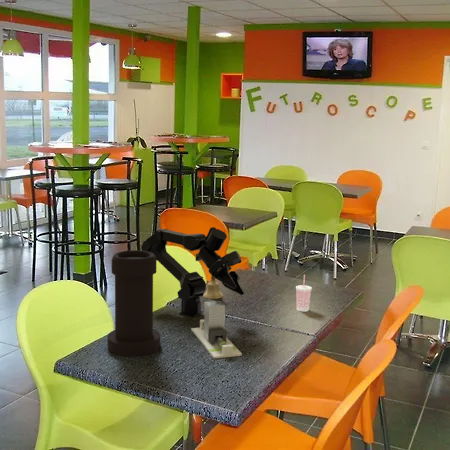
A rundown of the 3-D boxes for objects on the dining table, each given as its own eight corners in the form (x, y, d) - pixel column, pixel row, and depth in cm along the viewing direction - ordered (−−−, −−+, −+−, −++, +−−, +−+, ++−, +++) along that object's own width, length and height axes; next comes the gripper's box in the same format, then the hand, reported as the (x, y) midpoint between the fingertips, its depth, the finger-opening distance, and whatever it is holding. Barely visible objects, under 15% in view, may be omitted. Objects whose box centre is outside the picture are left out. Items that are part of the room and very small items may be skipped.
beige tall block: (203, 335, 202) (204, 302, 200) (219, 334, 204) (220, 300, 202) (208, 340, 198) (209, 306, 196) (224, 339, 199) (225, 305, 197)
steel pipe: (202, 327, 210) (202, 321, 210) (207, 326, 211) (208, 321, 210) (223, 351, 188) (223, 345, 188) (229, 351, 189) (229, 345, 189)
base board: (191, 329, 210) (191, 320, 210) (216, 327, 213) (216, 318, 213) (214, 358, 186) (214, 347, 186) (241, 355, 189) (242, 345, 188)
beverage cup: (310, 307, 239) (312, 273, 236) (310, 312, 233) (312, 277, 230) (294, 306, 239) (296, 272, 237) (294, 311, 233) (296, 276, 231)
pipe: (139, 333, 206) (139, 246, 200) (170, 347, 194) (171, 255, 189) (97, 345, 194) (96, 253, 189) (127, 360, 183) (127, 263, 177)
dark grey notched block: (209, 341, 197) (209, 330, 197) (223, 340, 199) (224, 328, 198) (211, 344, 195) (211, 332, 194) (226, 342, 197) (226, 331, 196)
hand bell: (200, 298, 248) (201, 259, 245) (205, 292, 256) (206, 255, 253) (220, 299, 246) (221, 261, 243) (225, 294, 254) (226, 256, 251)
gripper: (220, 236, 209) (249, 267, 202) (236, 253, 225) (263, 282, 218) (196, 258, 209) (224, 290, 202) (214, 273, 225) (240, 303, 218)
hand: (239, 291), depth 210 cm, fingers open, 9 cm apart
